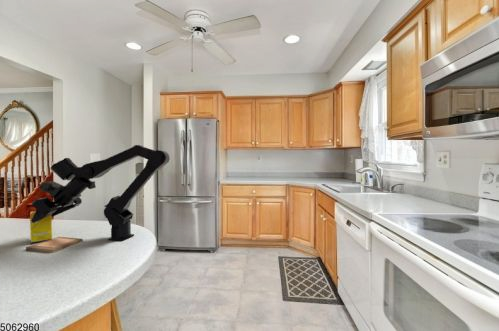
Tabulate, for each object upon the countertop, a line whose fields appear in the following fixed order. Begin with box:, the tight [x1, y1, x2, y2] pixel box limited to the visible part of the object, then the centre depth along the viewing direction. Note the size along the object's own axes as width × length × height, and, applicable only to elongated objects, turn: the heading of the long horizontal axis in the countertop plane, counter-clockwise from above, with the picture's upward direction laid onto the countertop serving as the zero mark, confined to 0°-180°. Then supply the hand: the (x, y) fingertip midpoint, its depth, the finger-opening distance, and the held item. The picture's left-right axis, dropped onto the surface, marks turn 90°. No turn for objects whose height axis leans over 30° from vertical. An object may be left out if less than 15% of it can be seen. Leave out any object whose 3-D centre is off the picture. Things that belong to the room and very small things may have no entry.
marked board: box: [25, 236, 84, 254], centre depth 83 cm, size 11×11×1 cm
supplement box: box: [29, 210, 53, 245], centre depth 88 cm, size 6×6×11 cm
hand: (42, 218), depth 88 cm, fingers open, 9 cm apart
